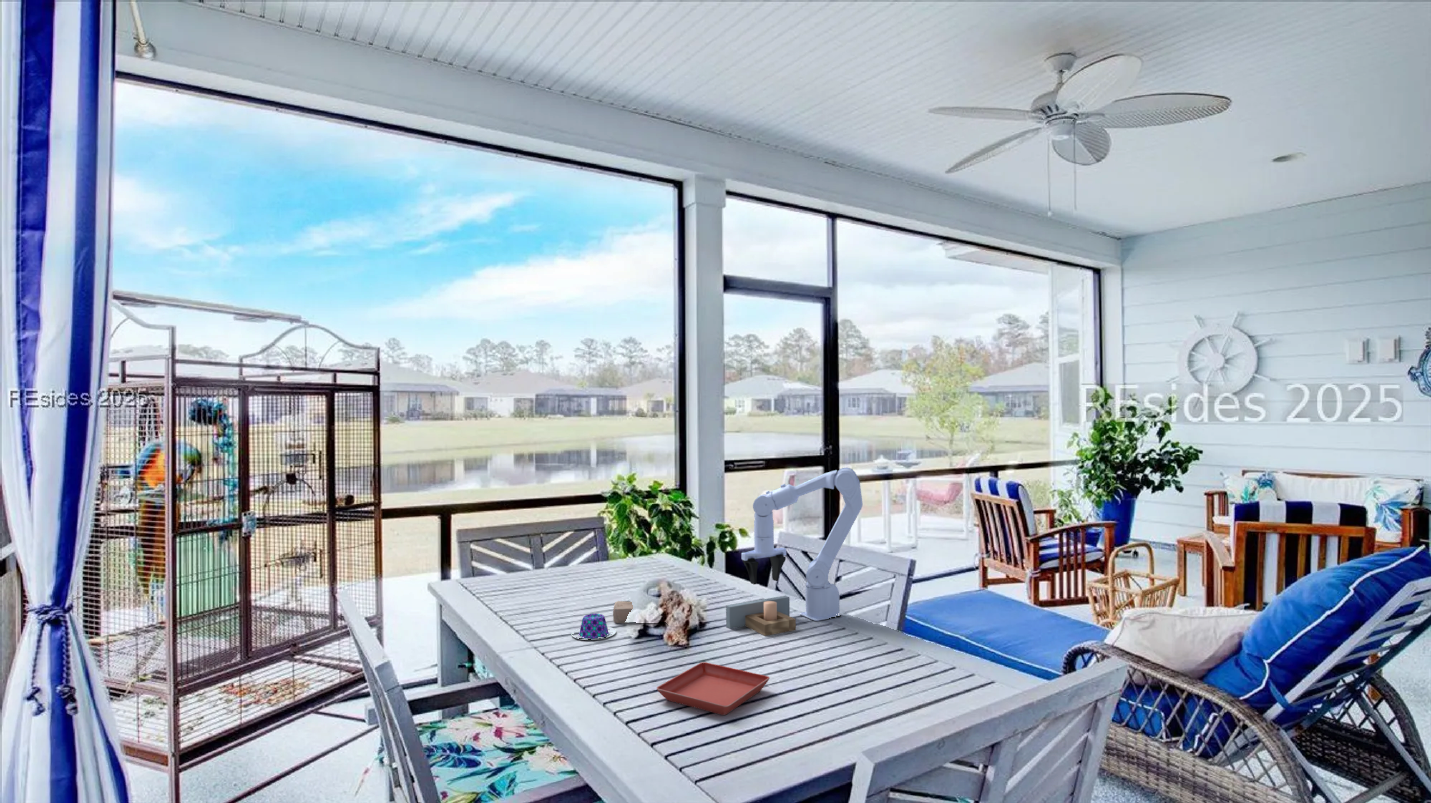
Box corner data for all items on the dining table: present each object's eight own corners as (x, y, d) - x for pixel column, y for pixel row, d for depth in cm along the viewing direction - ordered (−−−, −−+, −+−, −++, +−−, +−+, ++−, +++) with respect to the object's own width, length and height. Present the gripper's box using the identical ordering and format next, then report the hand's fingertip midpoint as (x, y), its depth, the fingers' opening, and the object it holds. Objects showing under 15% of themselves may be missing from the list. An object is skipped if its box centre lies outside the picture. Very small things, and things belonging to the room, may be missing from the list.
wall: (785, 616, 215) (785, 595, 215) (789, 617, 213) (789, 597, 213) (726, 627, 205) (726, 605, 205) (729, 628, 204) (729, 607, 204)
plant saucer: (727, 722, 145) (727, 705, 145) (654, 702, 155) (654, 687, 155) (771, 691, 160) (771, 676, 160) (702, 675, 170) (702, 661, 170)
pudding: (590, 645, 192) (590, 625, 192) (562, 636, 200) (562, 616, 200) (625, 634, 201) (625, 615, 201) (597, 625, 209) (596, 607, 209)
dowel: (775, 625, 206) (775, 600, 206) (777, 629, 202) (777, 604, 202) (763, 626, 206) (762, 601, 206) (764, 630, 202) (764, 604, 202)
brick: (671, 614, 219) (670, 598, 219) (671, 623, 211) (670, 606, 211) (614, 616, 218) (614, 600, 218) (612, 625, 210) (612, 608, 210)
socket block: (775, 620, 211) (775, 610, 211) (795, 630, 202) (795, 619, 202) (745, 626, 206) (745, 615, 206) (765, 636, 197) (764, 624, 197)
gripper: (776, 531, 224) (777, 576, 224) (735, 536, 217) (736, 582, 217) (790, 535, 218) (790, 581, 218) (748, 540, 211) (748, 587, 211)
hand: (764, 582), depth 217 cm, fingers open, 7 cm apart
